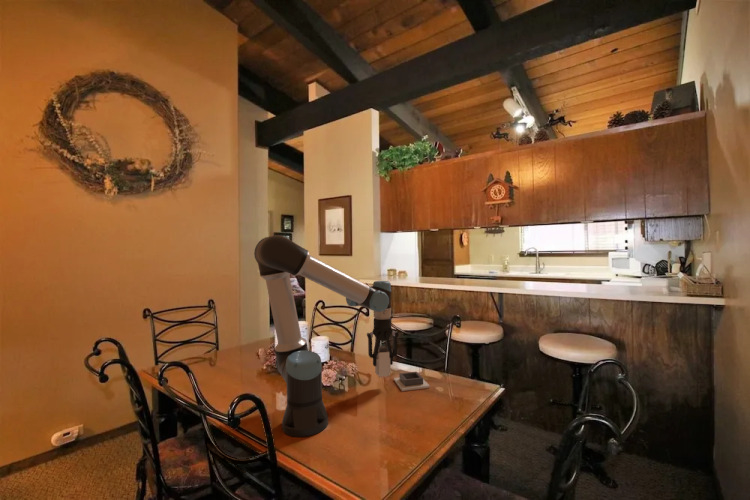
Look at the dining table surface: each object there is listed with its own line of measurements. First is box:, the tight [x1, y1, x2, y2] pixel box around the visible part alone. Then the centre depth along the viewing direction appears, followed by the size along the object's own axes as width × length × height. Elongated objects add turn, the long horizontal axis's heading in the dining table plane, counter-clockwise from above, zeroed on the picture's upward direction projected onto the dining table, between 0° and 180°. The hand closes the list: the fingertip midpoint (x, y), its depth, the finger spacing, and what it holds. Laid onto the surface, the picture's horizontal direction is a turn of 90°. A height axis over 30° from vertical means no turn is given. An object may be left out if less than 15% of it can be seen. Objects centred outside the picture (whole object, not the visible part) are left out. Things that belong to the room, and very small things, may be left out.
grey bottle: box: [377, 345, 390, 378], centre depth 142 cm, size 4×4×12 cm
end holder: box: [393, 371, 431, 392], centre depth 145 cm, size 12×12×4 cm
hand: (382, 372), depth 142 cm, fingers closed on grey bottle, 4 cm apart
